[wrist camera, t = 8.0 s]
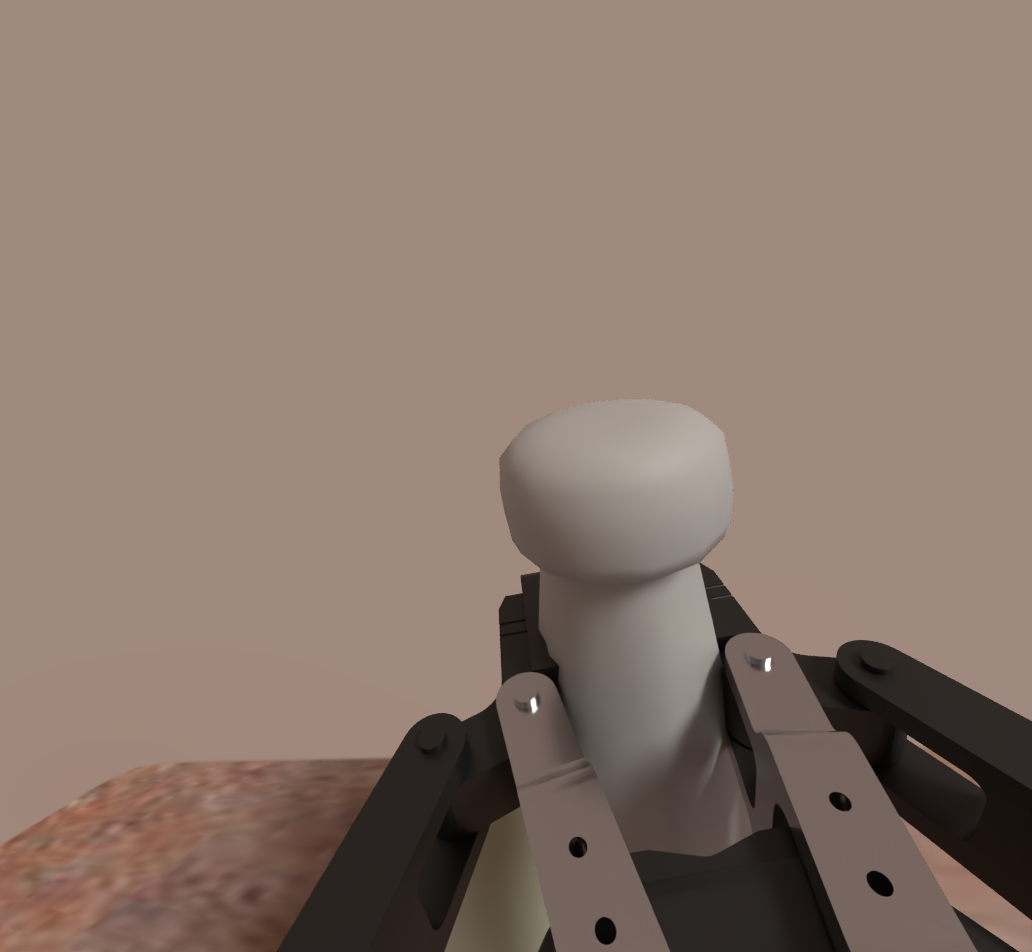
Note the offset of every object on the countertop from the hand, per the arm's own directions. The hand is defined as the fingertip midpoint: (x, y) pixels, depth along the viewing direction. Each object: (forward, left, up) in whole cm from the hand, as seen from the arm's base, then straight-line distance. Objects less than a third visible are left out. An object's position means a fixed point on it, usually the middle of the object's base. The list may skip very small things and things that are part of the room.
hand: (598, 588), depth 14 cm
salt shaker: (0, -3, -7) cm, 8 cm away
